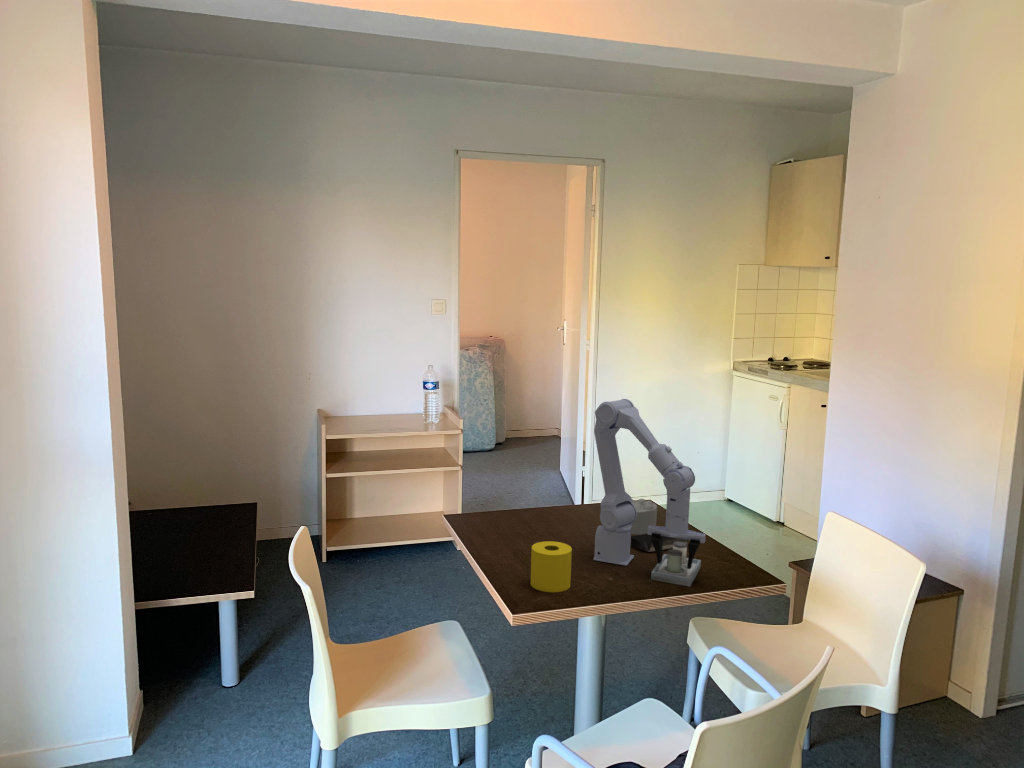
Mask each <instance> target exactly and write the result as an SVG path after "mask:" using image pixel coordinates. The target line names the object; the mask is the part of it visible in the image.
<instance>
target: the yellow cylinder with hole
mask: <svg viewBox="0 0 1024 768" xmlns="http://www.w3.org/2000/svg"><path fill="white" fill-rule="evenodd" d="M572 550H573V549H572V547H571V546H570V545H569V544H567V543H564V542H561V541H560V542H559V541H539V542H535V543H534V544H533V545H531V551H530V552H531V555H530V556H531V557H530V584H529V585H530V586H531V587H532V588H533V589H535V590H537V591H541V592H546V593H560V592H565V591H567V590H569V589H570V588H571V584H572V583H571V580H572V579H571V578H572V577H571V576H572V557H573V556H572V554H573V553H572V552H573V551H572Z"/></svg>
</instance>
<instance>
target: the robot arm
mask: <svg viewBox="0 0 1024 768" xmlns="http://www.w3.org/2000/svg"><path fill="white" fill-rule="evenodd" d="M594 415H595V425H594V429H593V433H594V438H595V444H596V449H597V450H596V451H597V455H598V461H599V467H600V472H601V478H602V483H603V489H604V497H603V498H602V500H601V502H600V505H599V506H600V513H599V521H600V523H601V524H600V525H598V526H597V527H596V531H595V536H594V554H593V555H594V557H593V561H597V562H602V563H603V562H604V563H609V564H615V565H618V566H619V565H621V566H628V565H629V564H630V562H631V561H632V560H633V559H634V558H635V555H633V554H631V536H632V534H631V527H632V523H633V522H634V521H635V520H636V518H637V510H636V508H635V506H634V505H633V502H632V499H633V498H632V496H631V495H630V494H629V493H628V492H626V490H625V485H624V477H623V472H622V468H621V467H622V466H621V460H620V455H619V451H618V449H619V448H618V445H617V439H616V435H617V433H618V432H619V431H620V429H624V430H629V431H630V433H631V434H632V435H633V436H634V437H635V438H636V439H637V440H638V442H639V443H641V445H642V446H643V447H644V448H645V449H646V451H647V452H648V455H647V457H648V458H647V459H648V460H649V461H650V462H651V464H652V465H653V466H654V467H655V468H656V470H657V471H658V472H659V474H660V475H661V476H662V477H663V480H662V482H663V485H664V488H665V489H666V511H665V526H663V525H662V526H660V525H656V526H649V527H648V533H647V534H648V535H652V536H651V542H652V544H653V546H654V548H655V551H654V552H655V554H656V555H655V556H656V560H657V563H658V564H660V563H661V562H662V556H663V550H662V547H663V538H664V536H666V537H672V538H679V539H685V540H688V544H687V549H688V556H687V558H688V564H687V568H688V569H690V568H691V566H692V561H693V559H695V554H696V553H697V551H698V548H699V546H700V545H701V544H705V542H706V538H707V537H706V533H702V532H698V531H694V530H690V529H689V517H690V501H691V500H690V499H691V488H692V487H693V486H694V484H695V482H696V476H695V473H694V471H693V470H692V468H691V467H689V466H686V465H684V464H683V463H682V461H679V459H678V458H677V456H676V455H675V454H674V453H673V452H672V451H673V450H672V448H671V446H667V445H666V444H664V443H660V442H658V440H657V438H656V437H655V435H654V434H653V432H652V431H651V430H650V429H649V427H648V426H647V424H646V423H645V421H644V420H643V419H642V417H641V416H640V413H639V409H638V408H637V407H636V406H635V404H633V402H632V401H631V400H629V399H627V398H622V399H618V400H612V401H603V402H601V403H600V404H599V405H598V407H597V408H596V410H595V411H594Z"/></svg>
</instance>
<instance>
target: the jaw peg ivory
mask: <svg viewBox="0 0 1024 768" xmlns="http://www.w3.org/2000/svg"><path fill="white" fill-rule="evenodd" d="M672 549H676V550H680V551H682V565H685V564H686V558H687V554H688V551H687V550H688V544H686V543H684V542H674V543H673V548H672Z"/></svg>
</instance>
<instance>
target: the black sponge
mask: <svg viewBox="0 0 1024 768" xmlns="http://www.w3.org/2000/svg"><path fill="white" fill-rule="evenodd" d="M651 536H652V535H648V533H646V534H640V535H635V534H634V535H631V544H630V546H632V547H634V548H637V549H640V550H642V551H645V552H649V553H650V552H656V551H655V548H654V546H653V544H652V542H651ZM674 542H684V543H686V544H687V545H688V544H689V540H685V539H679V538H672V537H666V536H664V538H663V547H662V551H664V550H671V549H673V543H674Z"/></svg>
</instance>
